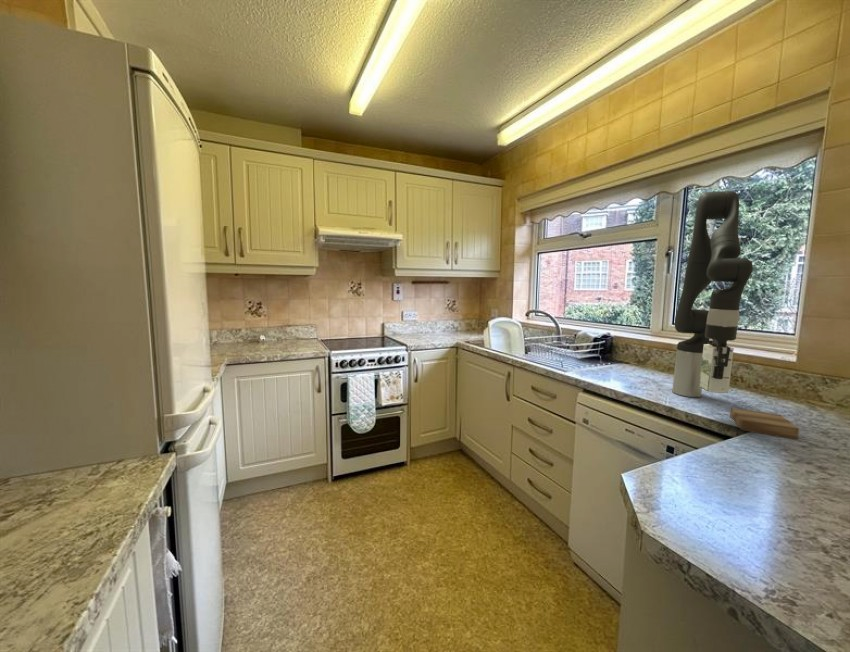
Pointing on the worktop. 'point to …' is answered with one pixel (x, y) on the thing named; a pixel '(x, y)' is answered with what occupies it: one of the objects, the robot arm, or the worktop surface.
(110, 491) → the worktop surface
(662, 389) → the worktop surface
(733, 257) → the robot arm
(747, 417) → the walnut plinth
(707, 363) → the syrup box
